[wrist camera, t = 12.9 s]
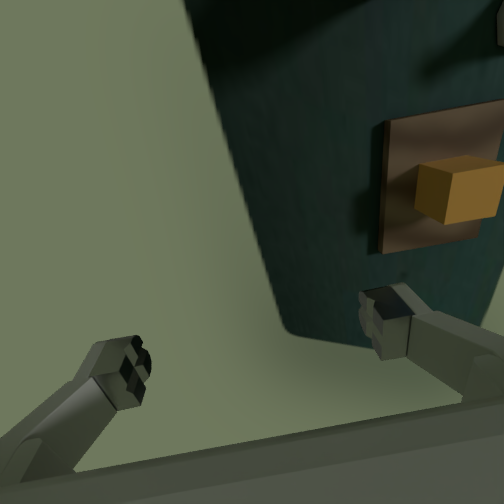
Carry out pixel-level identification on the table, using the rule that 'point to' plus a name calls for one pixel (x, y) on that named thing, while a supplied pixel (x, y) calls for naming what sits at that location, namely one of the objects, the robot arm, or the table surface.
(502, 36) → the flask
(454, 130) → the walnut post base
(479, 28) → the table surface
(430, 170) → the mustard brick
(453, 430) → the robot arm
